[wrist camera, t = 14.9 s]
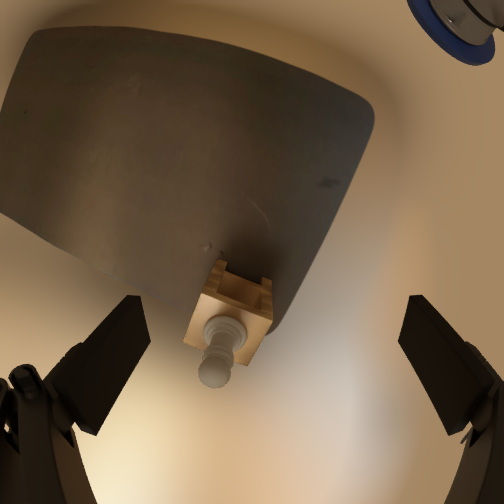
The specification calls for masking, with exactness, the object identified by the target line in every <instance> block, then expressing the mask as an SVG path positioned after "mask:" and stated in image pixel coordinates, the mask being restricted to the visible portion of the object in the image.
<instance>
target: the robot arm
mask: <svg viewBox="0 0 504 504" xmlns="http://www.w3.org/2000/svg"><path fill="white" fill-rule="evenodd" d="M427 1H428V4H429V6H430V8H431V10H432V12H433V13H434V15H435V16H436V18H437V19H438V20H439V22H440V23H441V24H442V25H443V26H444V27H445V28H446V29H447V30H448V31H449V32H450V33H451V34H452V35H453V36H454V37H456V38H457V39H458V40H460V41H461V42H463V43H465V44H467V45H470V46H479V45H482V44H484V43H485V42H486V41H487V40H488V38H489V36H490V35H491V34H492V33H493V31H494V30H495V29H496V28H498V29H500V30H502V31H503V32H504V0H427ZM150 342H151V340H150V336H149V332H148V328H147V324H146V320H145V315H144V311H143V306H142V302H141V297H140V296H132V295H127V296H126V297H125V298H124V299H123V300H122V301H121V302H120V303H119V304H118V305H117V306H116V307H115V308H114V309H113V310H112V312H111V313H110V314H109V315H108V316H107V317H106V318H105V319H104V320H103V321H102V322H101V323H100V325H99V326H98V327H97V328H96V329H95V330H94V331H93V332H92V333H91V334H90V335H89V337H88V338H87V339H86V340H85V341H84V342H83V343H81V342H80V343H78V344H77V345H75V346H73V347H72V348H71V349H70V350H69V351H68V352H67V353H66V354H65V357H63V358H62V359H61V360H60V362H58V363H57V364H56V366H55V367H54V368H53V369H52V370H51V371H50V372H49V374H48V375H47V376H46V377H45V378H44V379H43V381H42V379H41V378H40V376H39V374H38V372H37V371H36V368H35V367H34V366H33V365H30V364H22V365H20V366H17V367H16V368H14V369H13V370H12V371H11V373H10V374H9V377H8V379H9V380H10V382H11V384H12V386H13V387H14V389H12V388H10V386H9V385H8V383H7V381H6V380H4V379H3V378H0V504H97V502H96V499H95V497H94V494H93V492H92V489H91V486H90V484H89V481H88V478H87V475H86V472H85V469H84V465H83V462H82V459H81V455H80V452H79V448H78V444H77V440H76V436H75V432H74V430H73V428H72V425H73V424H74V422H76V424H77V425H78V427H79V428H80V430H81V431H84V432H86V433H89V434H92V435H94V436H97V434H98V432H99V430H100V428H101V426H102V425H103V423H104V421H105V419H106V417H107V416H108V414H109V412H110V410H111V408H112V407H113V405H114V403H115V401H116V399H117V398H118V396H119V394H120V393H121V391H122V389H123V387H124V386H125V384H126V382H127V381H128V379H129V377H130V375H131V374H132V372H133V370H134V369H135V367H136V365H137V364H138V362H139V360H140V358H141V357H142V355H143V354H144V352H145V350H146V348H147V347H148V345H149V344H150ZM398 342H399V344H400V346H401V348H402V349H403V351H404V353H405V354H406V356H407V358H408V360H409V361H410V363H411V365H412V366H413V368H414V370H415V372H416V374H417V375H418V377H419V379H420V381H421V383H422V385H423V386H424V388H425V390H426V392H427V394H428V396H429V398H430V400H431V402H432V403H433V405H434V407H435V409H436V411H437V413H438V415H439V417H440V419H441V421H442V423H443V426H444V428H445V430H446V432H447V434H448V435H449V436H450V435H453V434H455V433H458V432H460V431H463V429H464V428H465V427H466V425H467V424H468V423H469V421H470V422H471V423H472V425H473V426H472V428H471V429H470V430H469V432H468V433H467V434H466V435H465V437H464V438H463V439H462V441H461V444H462V443H463V442H464V441H465V440H466V439H467V441H466V444H465V448H464V452H463V455H462V458H461V461H460V465H459V467H458V470H457V473H456V476H455V478H454V481H453V484H452V486H451V489H450V491H449V494H448V496H447V498H446V500H445V503H444V504H504V381H503V380H502V379H501V378H500V376H499V375H498V374H497V373H496V371H495V370H494V369H493V368H492V366H491V365H490V364H489V363H488V361H487V362H486V359H485V358H484V357H483V356H482V355H481V353H480V352H479V350H478V349H477V348H476V347H475V346H473V345H472V344H470V343H469V342H467V341H466V342H464V340H463V339H462V338H461V337H460V336H459V335H458V333H457V332H456V331H455V330H454V329H453V328H452V327H451V326H450V324H449V323H448V322H447V321H446V320H445V319H444V318H443V317H442V316H441V314H440V313H439V312H438V311H437V310H436V309H435V308H434V307H433V306H432V305H431V304H430V303H429V302H428V300H427V299H426V298H425V297H424V296H423V295H412V296H409V301H408V305H407V309H406V313H405V317H404V321H403V325H402V328H401V332H400V336H399V339H398ZM5 423H6V424H7V426H8V427H9V431H8V432H6V430H5V429H4V427H5Z"/></svg>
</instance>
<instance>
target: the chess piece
mask: <svg viewBox="0 0 504 504" xmlns="http://www.w3.org/2000/svg"><path fill="white" fill-rule="evenodd" d="M203 336H204V340H205V342H206V343H207V345H208V347H207V348H206V349H205V351H204V355H203V358H202V360H203V362H202V363H201V365H200V367H199V371H198V374H199V378H200V380H201V382H202V383H203V384H204V385H206V386H208V387H210V388H220V387H222V386H224V385H225V384H226V383H227V382H228V381H229V379H230V376H231V368H232V366H233V361H234V353H233V352H236V351H238V350H240V349H241V348H242V347H243V346H244V344H245V343H246V340H247V333H246V330H245V328H244V326H243V325H242V324H241V323H240V322H239V321H238V320H236V319H234V318H232V317H228V316H218V317H215V318H212V319H211V320H209V321H208V322H207V323H206V325H205V326H204V329H203Z"/></svg>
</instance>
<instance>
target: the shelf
mask: <svg viewBox="0 0 504 504" xmlns="http://www.w3.org/2000/svg"><path fill="white" fill-rule="evenodd" d="M226 265H227V262H225V261H223V260H220V259H218V260H217V262H216V264H215V266H214V268H213V270H212V272H211V274H210V276H209V278H208V280H207V282H206V284H205V286H204V288H203V290H202V292H201V295H200V297H199V300H198V303H197V305H196V308H195V311H194V313H193V316H192V319H191V322H190V324H189V327H188V330H187V332H186V335H185V338H184V341H183V342H184V343H186V344H189V345H191V346H194V347H196V348H199V349H201V350H204V351H205V349H206V348H207V347H208V345H207V343H206V342H205V340H204V336H203V329H204V326H205V325H206V323H207V322H208V321H209V320H211V319H212V318H215V317H218V316H228V317H232V318H234V319H236V320H238V321H239V322H240V323H241V324H242V325H243V326H244V328H245V330H246V333H247V340H246V343H245V344H244V346H243V347H242V348H241V349H240V350H238V351H236V352H233V353H234V361H233V362H236V363H239V364H242V365H245V366H248V364H249V363H250V361H251V359H252V357H253V356H254V354H255V352H256V350H257V349H258V347H259V345H260V343H261V341H262V340H263V338H264V336H265V334H266V333H267V331H268V329H269V327H270V325H271V324H272V322H273V311H272V281H271V280H269V279H267V278H264V277H262V278H261V281H260V283H259V285H258V284H256V283H254V282H251V281H249V280H246V279H244V278H241V277H239V276H236V275H234V274H231V273H229V272H227V271H225V268H226Z"/></svg>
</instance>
